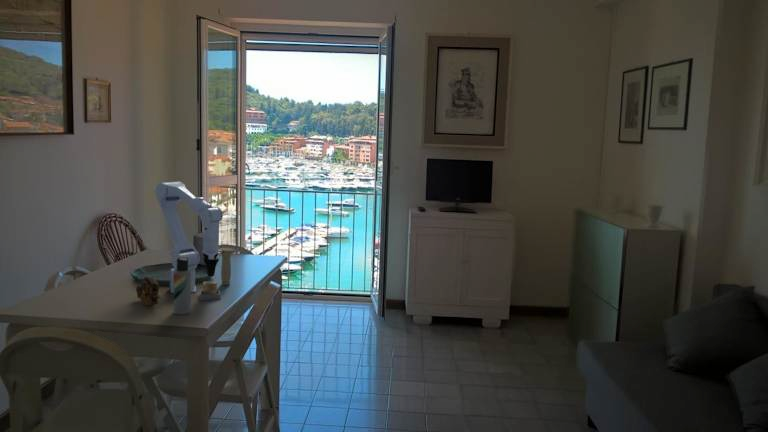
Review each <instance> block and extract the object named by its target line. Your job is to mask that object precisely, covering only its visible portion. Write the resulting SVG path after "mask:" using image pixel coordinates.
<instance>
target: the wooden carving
mask: <svg viewBox="0 0 768 432" xmlns="http://www.w3.org/2000/svg"><path fill="white" fill-rule="evenodd" d="M141 283H142V284H141V285H137V286H136V289H135V292H136V295H137V299H140V302H141V303H142V304H143V305H145V306H156V305H158V304H159V299H161V295H160V294H159V290H160V283H158V281H157V279H156V278H155V277H149V276H146V277H145V276H144V277H143V279H142V281H141Z"/></svg>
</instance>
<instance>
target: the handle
mask: <svg viewBox="0 0 768 432" xmlns="http://www.w3.org/2000/svg"><path fill="white" fill-rule="evenodd" d="M219 250H222V252H219V253H220V254H221V257H222V258H221V266H220V267H221V269H220V270H221V271H220V275H221V276H220V277H221V278H220V279H221V285H223V286H229V285H231V276H232V264H231V263H232V262H231V261H232V260H231V256H232V255H233V254H234V253H235V249H234V248H230V247H219Z"/></svg>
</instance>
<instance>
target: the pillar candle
mask: <svg viewBox="0 0 768 432" xmlns="http://www.w3.org/2000/svg"><path fill="white" fill-rule="evenodd" d="M192 245H193V246H194V247H195V249H196V251H197V252H198V253H199V256H200V262H199V264H201V265H202V266H203V265H204V266H206V264H205V262H204V260H203V258H205V257H204V255H203V231H202V232H195V233H193V243H192ZM201 265H200V266H201Z"/></svg>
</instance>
